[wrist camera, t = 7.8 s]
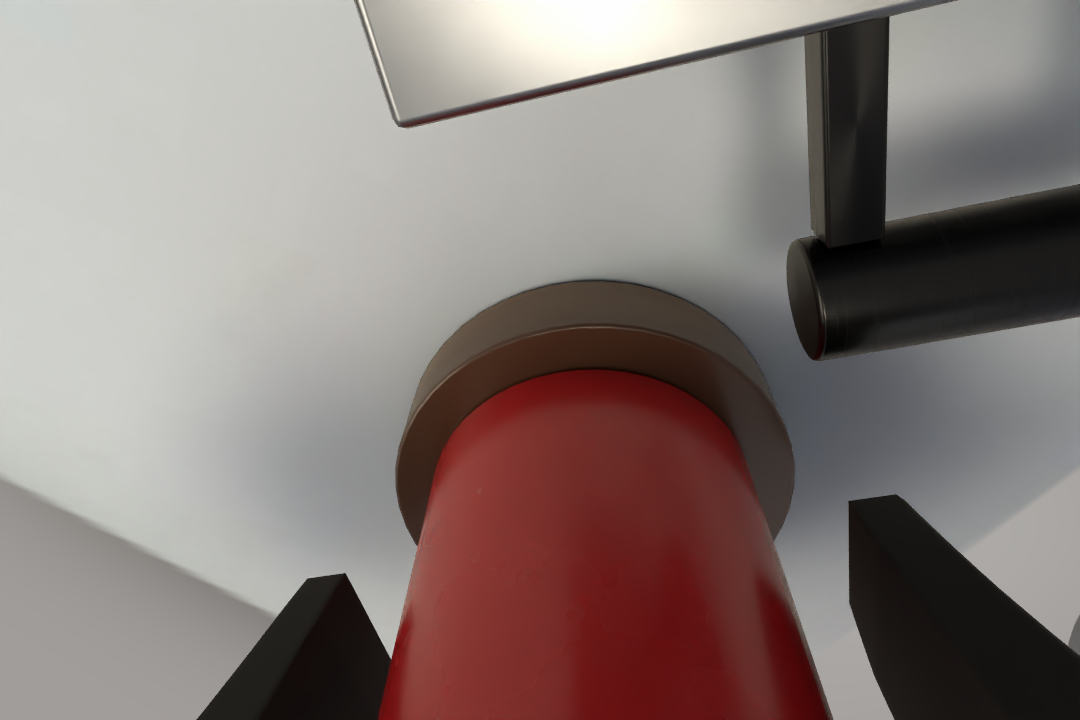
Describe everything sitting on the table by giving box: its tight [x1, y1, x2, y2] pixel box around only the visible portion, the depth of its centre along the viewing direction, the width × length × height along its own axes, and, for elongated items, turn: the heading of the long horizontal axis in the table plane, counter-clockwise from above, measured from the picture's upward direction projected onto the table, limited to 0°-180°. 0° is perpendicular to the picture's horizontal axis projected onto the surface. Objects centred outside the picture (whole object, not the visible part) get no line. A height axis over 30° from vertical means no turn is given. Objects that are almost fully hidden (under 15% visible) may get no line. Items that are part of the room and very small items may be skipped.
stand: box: [396, 281, 795, 546], centre depth 13 cm, size 7×7×2 cm
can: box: [377, 369, 833, 720], centre depth 9 cm, size 5×5×7 cm
